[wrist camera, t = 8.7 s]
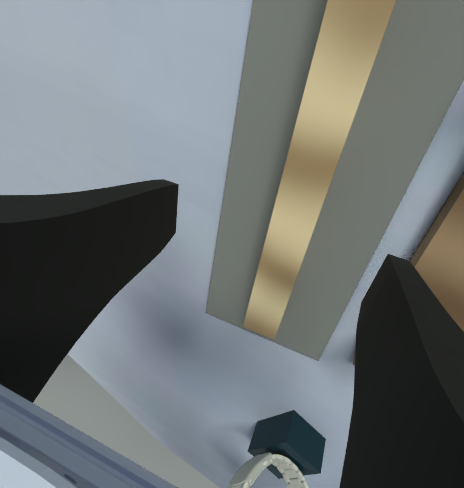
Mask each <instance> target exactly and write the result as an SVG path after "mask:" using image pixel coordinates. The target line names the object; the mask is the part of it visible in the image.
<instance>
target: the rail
mask: <svg viewBox="0 0 464 488" xmlns="http://www.w3.org/2000/svg"><path fill="white" fill-rule="evenodd" d="M396 1H397V0H328V1H327V5H326V9H325V13H324V17H323V21H322V24H321V28H320V32H319V36H318V40H317V44H316V47H315V51H314V55H313V59H312V63H311V67H310V71H309V74H308V78H307V82H306V86H305V90H304V94H303V97H302V101H301V105H300V109H299V113H298V117H297V120H296V124H295V128H294V132H293V136H292V140H291V144H290V147H289V151H288V155H287V159H286V163H285V167H284V170H283V174H282V178H281V182H280V186H279V190H278V193H277V197H276V201H275V205H274V209H273V213H272V217H271V220H270V224H269V228H268V232H267V236H266V240H265V243H264V247H263V251H262V255H261V259H260V263H259V266H258V270H257V274H256V278H255V282H254V286H253V290H252V293H251V297H250V301H249V305H248V309H247V313H246V316H245V320H244V324H243V327H246V328H248V329H250V330H253V331H255V332H257V333H260V334H262V335H264V336H267V337H269V338H271V339H275V336H276V334H277V331H278V328H279V325H280V323H281V320H282V317H283V315H284V312H285V309H286V306H287V304H288V301H289V298H290V295H291V292H292V290H293V287H294V284H295V281H296V278H297V276H298V273H299V270H300V267H301V265H302V262H303V259H304V256H305V253H306V251H307V248H308V245H309V242H310V240H311V237H312V234H313V231H314V228H315V226H316V223H317V220H318V217H319V215H320V212H321V209H322V206H323V203H324V201H325V198H326V195H327V192H328V190H329V187H330V184H331V181H332V178H333V176H334V173H335V170H336V167H337V165H338V162H339V159H340V156H341V153H342V151H343V148H344V145H345V142H346V140H347V137H348V134H349V131H350V128H351V126H352V123H353V120H354V117H355V115H356V112H357V109H358V106H359V103H360V101H361V98H362V95H363V92H364V90H365V87H366V84H367V81H368V78H369V76H370V73H371V70H372V67H373V65H374V62H375V59H376V56H377V53H378V51H379V48H380V45H381V42H382V40H383V37H384V34H385V31H386V28H387V26H388V23H389V20H390V17H391V15H392V12H393V9H394V6H395V3H396Z"/></svg>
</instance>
